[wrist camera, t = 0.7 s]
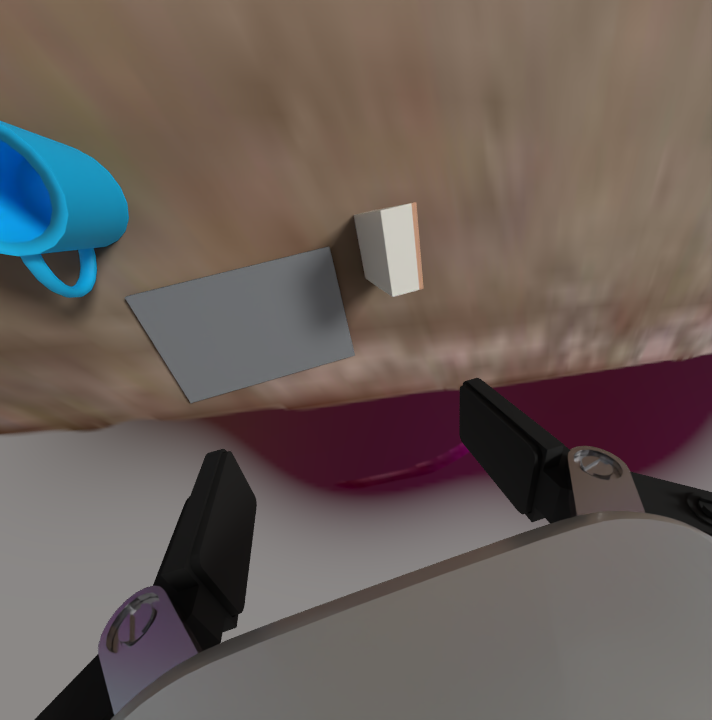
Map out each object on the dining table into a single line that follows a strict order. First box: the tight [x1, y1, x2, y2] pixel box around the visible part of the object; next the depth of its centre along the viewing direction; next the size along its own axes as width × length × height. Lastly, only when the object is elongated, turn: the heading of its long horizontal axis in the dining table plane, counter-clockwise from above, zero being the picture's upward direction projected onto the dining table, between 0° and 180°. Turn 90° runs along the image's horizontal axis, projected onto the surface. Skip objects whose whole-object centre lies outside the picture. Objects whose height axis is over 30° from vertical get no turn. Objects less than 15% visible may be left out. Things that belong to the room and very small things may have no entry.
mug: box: [0, 121, 129, 298], centre depth 22 cm, size 12×8×8 cm
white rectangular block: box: [354, 202, 423, 297], centre depth 27 cm, size 7×3×10 cm, turn 12°
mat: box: [125, 247, 355, 403], centre depth 33 cm, size 14×22×1 cm, turn 102°
